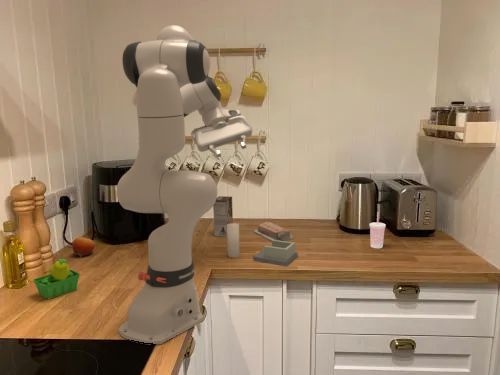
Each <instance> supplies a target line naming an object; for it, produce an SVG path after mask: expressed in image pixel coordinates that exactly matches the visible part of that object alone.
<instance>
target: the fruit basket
mask: <svg viewBox="0 0 500 375" xmlns="http://www.w3.org/2000/svg"><path fill="white" fill-rule="evenodd" d="M49 273H50V274H46V275H44V276H40V277H37V278H36V277H35V278H33V280H32V281H33V283H34V284H35V286H36V290H37V291H38V293H39V295H40V294H41V295H42V296H41V295H40V296H41V297H43V296H44V297H46V298H45V299H47V298H51V297H53V298H55V297H54V296H56V297H58V296H57V295H59V296H62V295H64V293H65V294H67V293H69V292H73V291H76V290H77V286H78V283H79V278H80V276H81V273H79V272H78V271H75V270H73V269H71V268H70V266H69V264H67V260H66V259H64V258H59V259H58V260H57V261H55V262H54V263H53V264H52V265H51V267H50V268H49ZM61 294H62V295H61ZM44 297H43V298H44ZM51 299H52V298H51Z"/></svg>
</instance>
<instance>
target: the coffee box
mask: <svg viewBox="0 0 500 375" xmlns="http://www.w3.org/2000/svg"><path fill="white" fill-rule="evenodd" d="M212 208H213V227H214V228H213V231H214V235H213V236H214V237H225V238H227V224H230V223H234V218H233V213H234V212H233V196H222V195H221V196H217V199H216V202H215V204H214V205H213V207H212Z"/></svg>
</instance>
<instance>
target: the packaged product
mask: <svg viewBox="0 0 500 375" xmlns="http://www.w3.org/2000/svg"><path fill="white" fill-rule="evenodd" d="M252 231H253V233H254V234H257V235H258V236H260V237H262V238H264V239H266V240H268V241H271V242H272V240H278V241H286V242H287V241H290V240H294V235H291V234H290V230H289V229H287V228H284V227H282V226H280V225H278V224H276V223H274V222H270V221H264V222H262V223H260V224H258V225H257V229H255V230H252Z"/></svg>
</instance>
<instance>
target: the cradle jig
mask: <svg viewBox="0 0 500 375" xmlns="http://www.w3.org/2000/svg"><path fill="white" fill-rule="evenodd" d="M298 257H299V252H297V251H296V242H292V241H287V240H286V241H278V240H272V241H271V246H270V245H263V248H262V249H261V251H259V252H258V253H256V254H254V255H253V256H252V259H253V262H260V263H265V264H266V263H267V264H272V265H278V266H284V267H287V266H288V265H290V264H291V263H292V262H294V260H295V259H297V258H298Z"/></svg>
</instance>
